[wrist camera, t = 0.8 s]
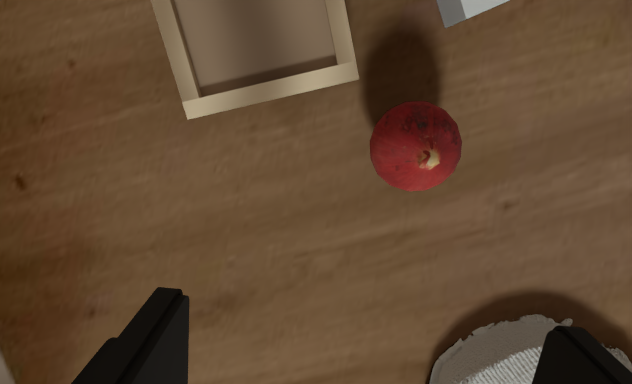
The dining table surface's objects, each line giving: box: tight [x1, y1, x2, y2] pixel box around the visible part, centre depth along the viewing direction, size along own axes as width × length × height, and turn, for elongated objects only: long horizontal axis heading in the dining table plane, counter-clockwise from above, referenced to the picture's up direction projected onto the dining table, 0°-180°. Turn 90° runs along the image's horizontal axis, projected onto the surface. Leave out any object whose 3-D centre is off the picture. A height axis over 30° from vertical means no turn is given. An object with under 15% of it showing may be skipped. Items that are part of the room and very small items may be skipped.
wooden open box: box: [151, 0, 359, 119], centre depth 24 cm, size 10×10×7 cm
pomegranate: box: [370, 101, 462, 191], centre depth 25 cm, size 6×6×8 cm
